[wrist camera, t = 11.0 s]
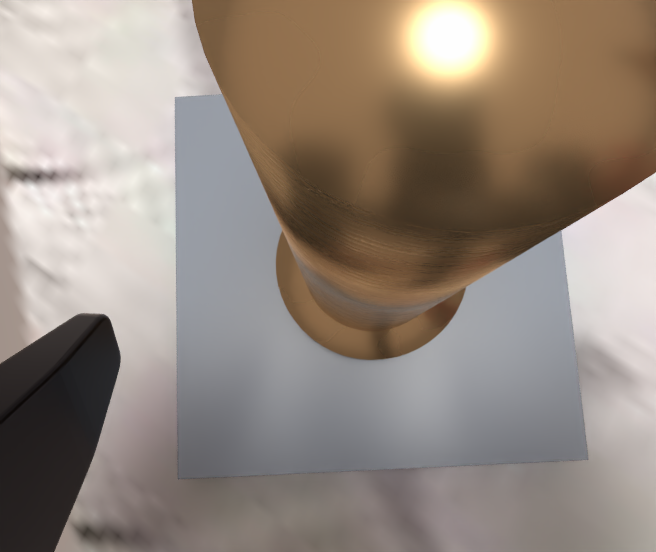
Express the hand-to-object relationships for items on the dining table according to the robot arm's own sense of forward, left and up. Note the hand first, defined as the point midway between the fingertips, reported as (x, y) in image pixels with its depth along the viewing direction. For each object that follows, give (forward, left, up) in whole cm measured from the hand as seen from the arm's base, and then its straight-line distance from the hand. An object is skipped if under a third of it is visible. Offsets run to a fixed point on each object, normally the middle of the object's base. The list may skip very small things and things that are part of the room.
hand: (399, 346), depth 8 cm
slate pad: (+3, 0, -9) cm, 9 cm away
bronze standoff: (+3, 0, -8) cm, 9 cm away
